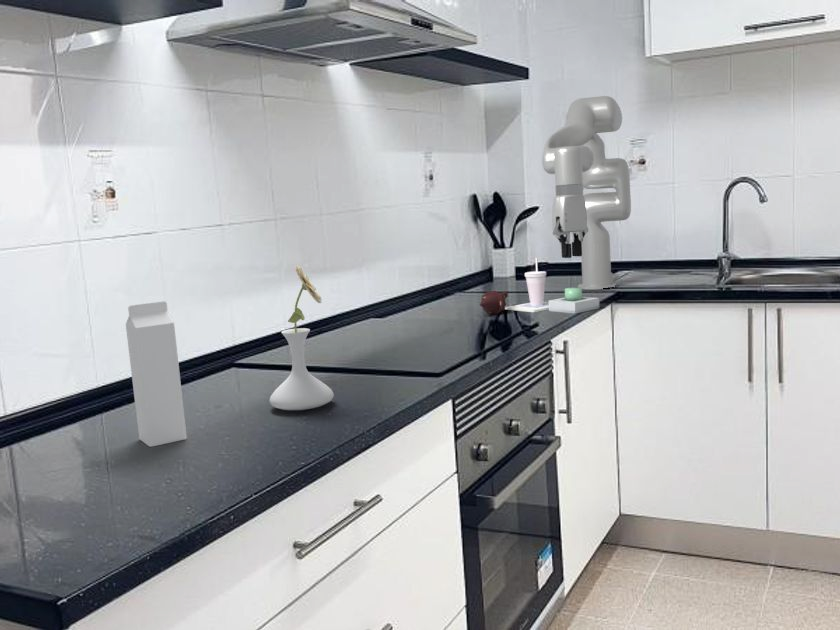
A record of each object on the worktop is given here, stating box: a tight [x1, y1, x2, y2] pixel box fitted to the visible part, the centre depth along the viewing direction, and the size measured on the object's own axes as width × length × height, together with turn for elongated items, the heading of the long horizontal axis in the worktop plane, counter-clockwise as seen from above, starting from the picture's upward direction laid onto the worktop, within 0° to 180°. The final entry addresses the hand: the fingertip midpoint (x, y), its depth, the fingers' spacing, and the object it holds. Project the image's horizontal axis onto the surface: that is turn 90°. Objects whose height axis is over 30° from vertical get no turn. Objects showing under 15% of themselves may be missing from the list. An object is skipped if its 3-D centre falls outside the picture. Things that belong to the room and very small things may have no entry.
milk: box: [125, 300, 188, 448], centre depth 134 cm, size 6×6×22 cm
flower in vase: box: [269, 265, 335, 411], centre depth 149 cm, size 13×11×25 cm
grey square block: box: [548, 296, 600, 315], centre depth 241 cm, size 10×10×3 cm
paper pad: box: [504, 301, 549, 313], centre depth 250 cm, size 14×12×1 cm
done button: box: [564, 286, 583, 301], centre depth 240 cm, size 5×5×4 cm
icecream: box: [479, 290, 509, 316], centre depth 243 cm, size 7×7×15 cm
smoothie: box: [524, 257, 547, 306], centre depth 249 cm, size 6×6×14 cm
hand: (571, 256), depth 239 cm, fingers open, 3 cm apart
